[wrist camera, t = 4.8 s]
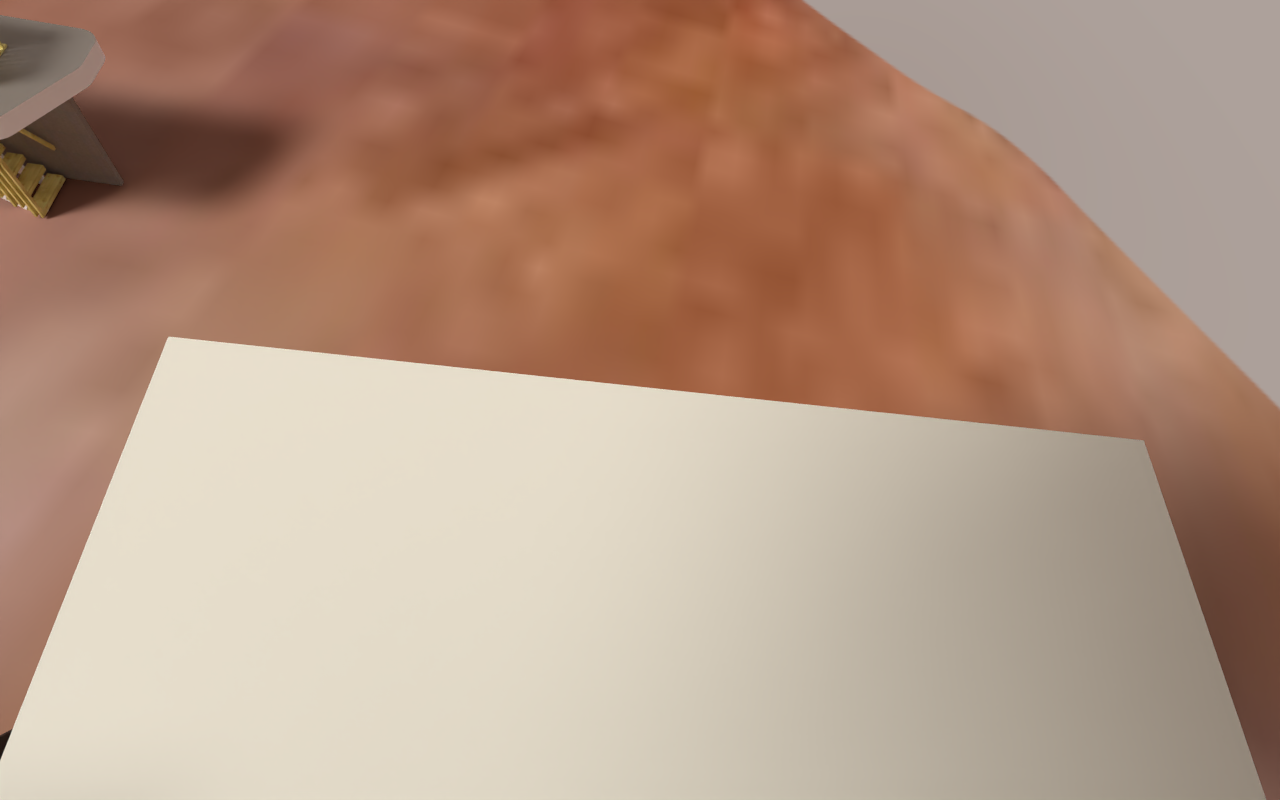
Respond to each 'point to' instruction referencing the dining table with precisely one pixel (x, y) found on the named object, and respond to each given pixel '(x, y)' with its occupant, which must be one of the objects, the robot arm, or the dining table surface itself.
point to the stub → (613, 601)
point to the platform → (47, 112)
